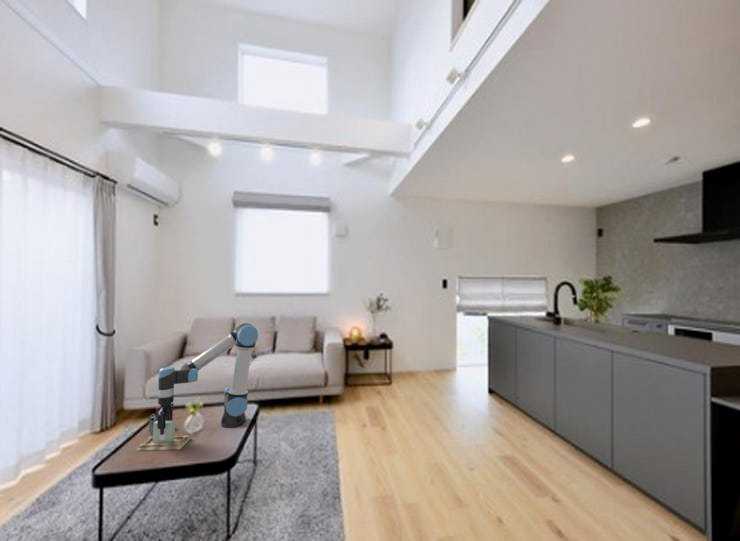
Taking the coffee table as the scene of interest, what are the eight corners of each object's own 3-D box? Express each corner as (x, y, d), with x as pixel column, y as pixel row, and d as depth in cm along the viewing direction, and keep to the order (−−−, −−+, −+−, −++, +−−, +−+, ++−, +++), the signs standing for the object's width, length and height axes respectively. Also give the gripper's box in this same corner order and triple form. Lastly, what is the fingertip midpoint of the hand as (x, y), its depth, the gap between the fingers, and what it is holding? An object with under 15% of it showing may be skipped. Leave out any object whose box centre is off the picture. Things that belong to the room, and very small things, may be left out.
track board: (190, 438, 191) (190, 434, 191) (180, 449, 179) (180, 444, 179) (150, 440, 189) (150, 435, 189) (137, 450, 177) (137, 446, 177)
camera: (173, 433, 198) (173, 416, 198) (152, 439, 190) (152, 421, 191) (167, 425, 208) (168, 409, 208) (147, 430, 200) (147, 414, 201)
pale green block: (174, 440, 186) (175, 420, 186) (171, 443, 182) (172, 423, 183) (156, 440, 185) (157, 420, 185) (152, 443, 181) (153, 423, 182)
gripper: (166, 390, 192) (165, 431, 192) (150, 401, 176) (149, 445, 175) (180, 390, 193) (179, 431, 192) (165, 400, 177) (163, 445, 176)
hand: (164, 438), depth 184 cm, fingers closed on pale green block, 3 cm apart
